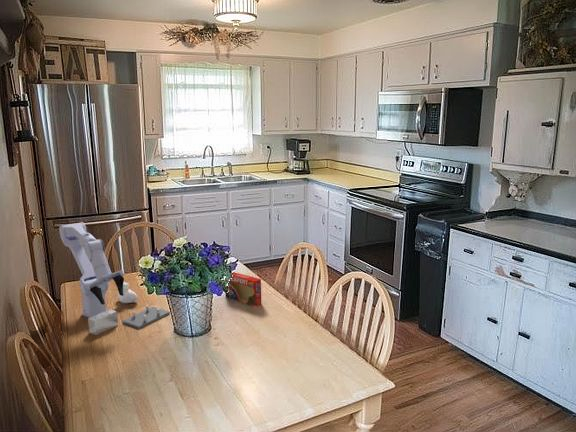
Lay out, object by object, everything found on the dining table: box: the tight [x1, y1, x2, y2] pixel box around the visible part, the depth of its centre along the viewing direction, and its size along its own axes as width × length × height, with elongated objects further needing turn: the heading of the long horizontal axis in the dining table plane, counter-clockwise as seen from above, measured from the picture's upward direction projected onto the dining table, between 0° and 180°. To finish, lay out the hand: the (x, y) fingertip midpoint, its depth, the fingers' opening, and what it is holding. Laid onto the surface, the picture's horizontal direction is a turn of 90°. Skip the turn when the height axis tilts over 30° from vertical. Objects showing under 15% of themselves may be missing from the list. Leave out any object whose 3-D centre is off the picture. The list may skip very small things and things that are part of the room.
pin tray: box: [121, 304, 171, 330], centre depth 184 cm, size 10×16×4 cm, turn 148°
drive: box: [87, 308, 119, 336], centre depth 175 cm, size 4×10×6 cm, turn 148°
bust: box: [117, 280, 139, 304], centre depth 199 cm, size 12×8×11 cm
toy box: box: [225, 271, 262, 308], centre depth 200 cm, size 18×4×12 cm, turn 54°
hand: (112, 299), depth 172 cm, fingers open, 7 cm apart
